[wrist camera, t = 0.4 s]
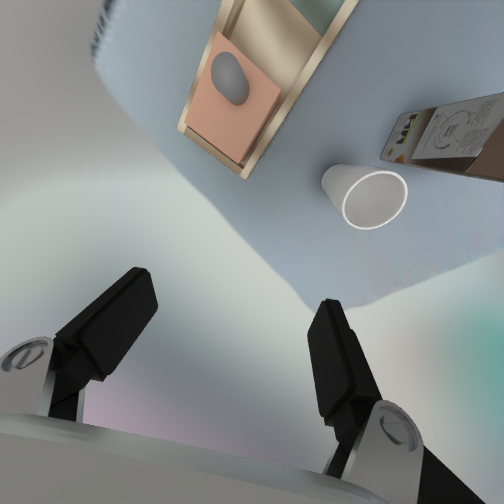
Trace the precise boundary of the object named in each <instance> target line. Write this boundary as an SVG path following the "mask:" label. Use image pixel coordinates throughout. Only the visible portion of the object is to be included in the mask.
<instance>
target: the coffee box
mask: <svg viewBox="0 0 504 504" xmlns="http://www.w3.org/2000/svg"><path fill="white" fill-rule="evenodd" d="M380 158H381V159H382V160H386V161H390V162H395V163H399V164H404V165H409V166H413V167H418V168H423V169H428V170H433V171H439V172H444V173H450V174H456V175H462V176H467V177H474V178H480V179H486V180H491V181H497V182H503V183H504V92H503V93H498V94H493V95H489V96H484V97H479V98H475V99H471V100H466V101H462V102H457V103H452V104H448V105H443V106H439V107H435V108H430V109H426V110H421V111H416V112H412V113H407V114H403V115H401V116H400V117H399V119H398V121H397V123H396V125H395V127H394V130H393V132H392V134H391V136H390V138H389V140H388V142H387V144H386V146H385V148H384V150H383V152H382V155H381V157H380Z"/></svg>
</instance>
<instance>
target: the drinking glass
mask: <svg viewBox="0 0 504 504" xmlns="http://www.w3.org/2000/svg"><path fill="white" fill-rule="evenodd" d="M321 186H322V189H323V191H324V192H325V193H326V194H327V196H328V198H329V200H330V202H331V204H332V205H333V207H334V209H335V210H336V212H337V213H338V214H339V215H340V216H341V217H342V218H343V219H344V220H345V221H346V222H347V223H348V224H349V225H351V226H352V227H355V228H358V229H373V228H377V227H380V226H382V225H384V224H386V223H388V222H389V221H391V220H392V219H393V218H394V217H396V216H397V215H398V213H399V212H400V211H401V210H402V208H403V206H404V204H405V202H406V199H407V193H408V189H407V185H406V182H405V180H404V179H403V178H402V177H401V176H400V175H399V174H397V173H395V172H392V171H389V170H386V169H383V168H379V167H375V166H364V165H344V164H337V165H334V166H332V167H330V168H329V169H328V170H327V171H326V172H325V173H324V175H323V177H322V180H321Z"/></svg>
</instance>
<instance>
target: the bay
mask: <svg viewBox="0 0 504 504" xmlns="http://www.w3.org/2000/svg"><path fill="white" fill-rule="evenodd" d="M359 1H360V0H222V3H221V6H220V9H219V11H218V14H217V17H216V20H215V23H214V25H213V28H212V31H211V34H210V37H209V39H208V42H207V45H206V48H205V51H204V53H203V56H202V59H201V62H200V65H199V67H198V70H197V73H196V76H195V79H194V81H193V84H192V87H191V90H190V93H189V95H188V98H187V101H186V104H185V107H184V109H183V112H182V115H181V118H180V121H179V123H178V126H177V129H178V130H179V131H180V132H182V133H183V134H184V135H186V136H187V137H188V138H190V139H191V140H192V141H194V142H195V143H196V144H198V145H199V146H200V147H202V148H203V149H204V150H205V151H207V152H208V153H209V154H211V155H212V156H213V157H215V158H216V159H217V160H219V161H220V162H221V163H223V164H224V165H225V166H227V167H228V168H229V169H231V170H232V171H233V172H235V173H236V174H237V175H239V176H240V177H241V178H243V179H244V180H246V178H247V177H248V176H249V174H250V173H251V171H252V170H253V168H254V167H255V165H256V163H257V162H258V160H259V159H260V157H261V155H262V154H263V152H264V151H265V149H266V148H267V146H268V144H269V143H270V141H271V140H272V138H273V137H274V135H275V133H276V132H277V130H278V129H279V127H280V126H281V124H282V122H283V121H284V119H285V118H286V116H287V114H288V113H289V111H290V110H291V108H292V107H293V105H294V103H295V102H296V100H297V99H298V97H299V96H300V94H301V92H302V91H303V89H304V88H305V86H306V85H307V83H308V81H309V80H310V78H311V77H312V75H313V73H314V72H315V70H316V69H317V67H318V66H319V64H320V62H321V61H322V59H323V58H324V56H325V55H326V53H327V51H328V50H329V48H330V47H331V45H332V44H333V42H334V40H335V39H336V37H337V36H338V34H339V32H340V31H341V29H342V28H343V26H344V25H345V23H346V21H347V20H348V18H349V17H350V15H351V14H352V12H353V10H354V9H355V7H356V6H357V4H358V3H359ZM218 31H219V32H220V33H221V34H222V35H223V36H224V37H225V38H226V39H227V40H228V41H230V42H231V43H232V44H233V45H234V46H235V47H236V48H237V49H238V50H239V51H240V52H241V53H242V54H243V55H245V56H246V57H247V58H248V59H249V60H250V61H251V62H252V63H253V64H254V65H255V66H256V67H257V68H258V69H259V70H261V71H262V72H263V73H264V74H265V75H266V76H267V77H268V78H269V79H270V80H271V81H272V82H273V83H274V84H276V85H277V86H278V87H279V88H280V89H281V97H280V101H279V103H278V105H277V106H276V108H275V110H274V111H273V113H272V115H271V116H270V118H269V120H268V122H267V123H266V125H265V127H264V128H263V130H262V132H261V133H260V135H259V137H258V138H257V140H256V142H255V143H254V145H253V147H252V148H251V150H250V152H249V154H248V155H247V157H246V159H245V160H244V161H243V162H241V163H239V164H237V163H236V162H235V161H233V160H232V159H231V158H229V157H228V156H227V155H226V154H224V153H223V152H222V151H220V150H219V149H218V148H216V147H215V146H214V145H213V144H211V143H210V142H209V141H207V140H206V139H205V138H203V137H202V136H201V135H200V134H198V133H197V132H196V131H194V130H193V129H192V128H190V127H189V126H188V125H187V124H185V123H184V121H185V118H186V115H187V113H188V110H189V107H190V105H191V102H192V99H193V96H194V94H195V91H196V88H197V86H198V83H199V80H200V78H201V75H202V72H203V69H204V67H205V64H206V61H207V59H208V56H209V53H210V51H211V48H212V45H213V43H214V40H215V37H216V34H217V32H218Z"/></svg>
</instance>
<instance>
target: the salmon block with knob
mask: <svg viewBox="0 0 504 504" xmlns="http://www.w3.org/2000/svg"><path fill="white" fill-rule="evenodd" d="M280 97H281V89H280V88H279V87H278V86H277V85H276V84H274V83H273V82H272V81H271V80H270V79H269V78H268V77H267V76H266V75H265V74H264V73H263V72H262V71H261V70H259V69H258V68H257V67H256V66H255V65H254V64H253V63H252V62H251V61H250V60H249V59H248V58H247V57H246V56H245V55H243V54H242V53H241V52H240V51H239V50H238V49H237V48H236V47H235V46H234V45H233V44H232V43H231V42H230V41H228V40H227V39H226V38H225V37H224V36H223V35H222V34H221V33H220V32H219V31H218V32H217V34H216V37H215V40H214V43H213V45H212V48H211V51H210V53H209V56H208V59H207V61H206V64H205V67H204V69H203V72H202V75H201V78H200V80H199V83H198V86H197V88H196V91H195V94H194V96H193V99H192V102H191V105H190V107H189V110H188V113H187V115H186V118H185V121H184V123H185V124H187V125H188V126H189V127H190V128H192V129H193V130H194V131H196V132H197V133H198V134H200V135H201V136H202V137H203V138H205V139H206V140H207V141H209V142H210V143H211V144H213V145H214V146H215V147H216V148H218V149H219V150H220V151H222V152H223V153H224V154H226V155H227V156H228V157H229V158H231V159H232V160H233V161H235V162H236V163H237V164H239V163H241V162H243V161H244V160H245V159H246V157H247V155H248V154H249V152H250V150H251V148H252V147H253V145H254V143H255V142H256V140H257V138H258V137H259V135H260V133H261V132H262V130H263V128H264V127H265V125H266V123H267V122H268V120H269V118H270V116H271V115H272V113H273V111H274V110H275V108H276V106H277V105H278V103H279V101H280Z"/></svg>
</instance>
